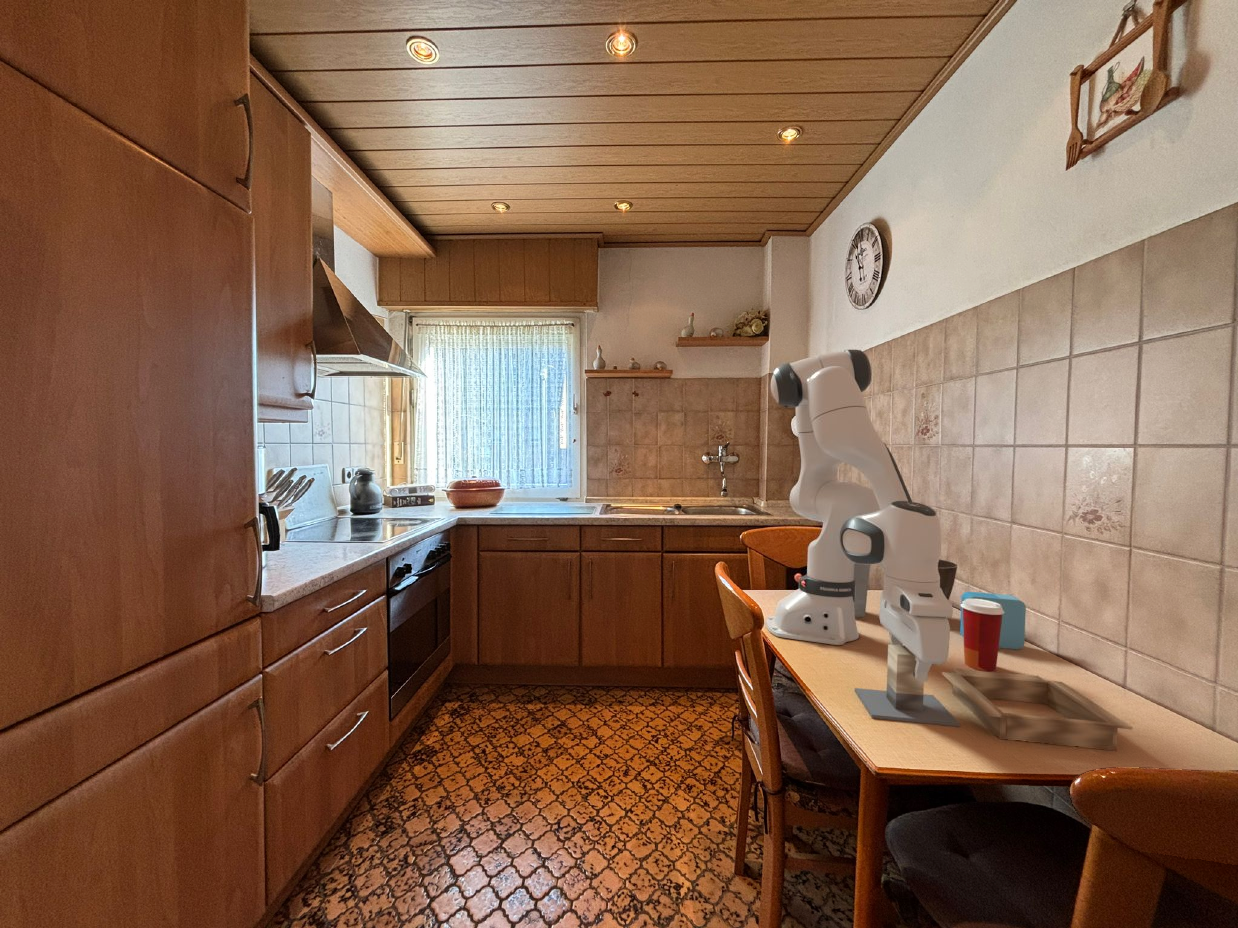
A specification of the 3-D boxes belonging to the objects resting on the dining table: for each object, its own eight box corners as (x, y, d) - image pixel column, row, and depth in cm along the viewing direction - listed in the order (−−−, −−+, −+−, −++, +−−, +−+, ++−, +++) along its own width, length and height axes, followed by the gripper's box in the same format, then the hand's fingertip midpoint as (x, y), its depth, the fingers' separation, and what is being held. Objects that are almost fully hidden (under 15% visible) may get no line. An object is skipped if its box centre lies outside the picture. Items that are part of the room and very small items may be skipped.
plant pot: (883, 615, 144) (885, 559, 144) (908, 606, 153) (909, 554, 153) (941, 630, 132) (944, 570, 132) (964, 620, 141) (966, 563, 140)
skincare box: (829, 608, 150) (831, 555, 149) (852, 607, 150) (854, 555, 150) (844, 617, 141) (846, 561, 141) (869, 617, 142) (871, 561, 141)
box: (895, 709, 90) (897, 653, 89) (886, 697, 94) (888, 644, 94) (922, 711, 89) (924, 656, 89) (912, 699, 93) (914, 646, 93)
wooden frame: (987, 738, 82) (988, 714, 82) (936, 687, 100) (937, 667, 99) (1132, 752, 79) (1134, 727, 78) (1053, 697, 96) (1054, 677, 96)
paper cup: (1004, 666, 110) (1006, 603, 110) (999, 677, 105) (1002, 610, 104) (961, 655, 116) (963, 595, 115) (955, 665, 110) (957, 602, 110)
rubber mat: (871, 717, 88) (872, 714, 88) (854, 690, 98) (854, 687, 97) (959, 726, 85) (959, 722, 85) (932, 697, 95) (933, 694, 95)
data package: (1016, 643, 124) (1018, 595, 123) (1024, 650, 120) (1026, 600, 119) (959, 637, 127) (961, 590, 127) (965, 643, 123) (967, 595, 123)
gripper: (871, 576, 102) (869, 644, 102) (916, 608, 81) (913, 692, 82) (905, 578, 101) (903, 646, 101) (958, 610, 80) (956, 695, 81)
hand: (908, 667), depth 91 cm, fingers open, 8 cm apart
